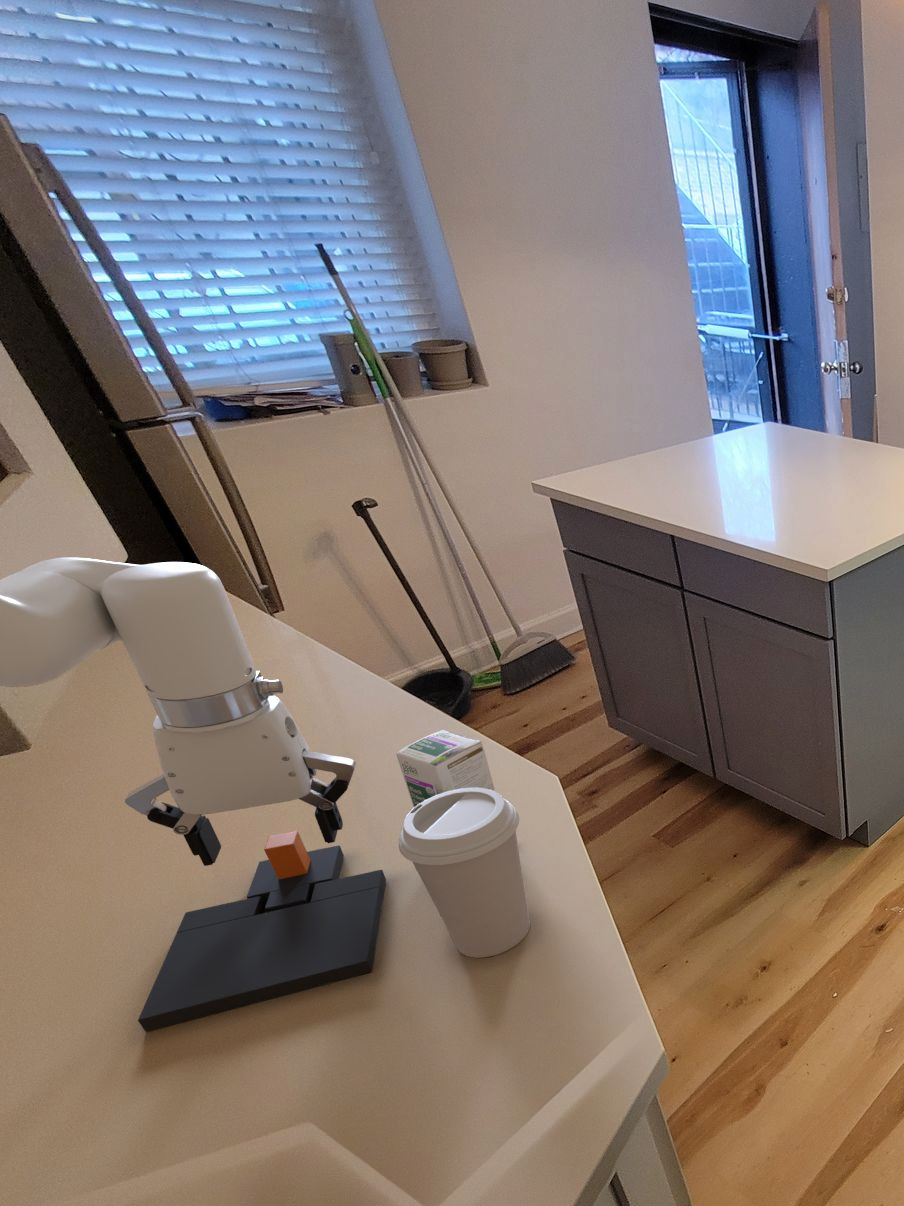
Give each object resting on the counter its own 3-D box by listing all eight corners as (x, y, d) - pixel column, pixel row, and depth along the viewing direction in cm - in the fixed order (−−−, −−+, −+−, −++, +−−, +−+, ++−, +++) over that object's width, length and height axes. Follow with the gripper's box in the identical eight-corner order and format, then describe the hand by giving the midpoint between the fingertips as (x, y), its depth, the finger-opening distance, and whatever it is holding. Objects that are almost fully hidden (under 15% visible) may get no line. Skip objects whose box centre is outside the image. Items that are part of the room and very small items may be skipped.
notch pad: (145, 1032, 66) (137, 1020, 66) (191, 923, 77) (185, 912, 76) (372, 972, 73) (367, 960, 73) (386, 879, 84) (382, 869, 83)
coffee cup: (503, 888, 84) (468, 772, 76) (568, 920, 80) (537, 801, 73) (415, 947, 76) (366, 823, 69) (482, 984, 73) (439, 859, 65)
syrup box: (429, 864, 86) (390, 752, 79) (475, 833, 91) (442, 726, 84) (469, 878, 85) (432, 766, 78) (513, 846, 90) (483, 738, 83)
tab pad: (245, 925, 77) (223, 883, 75) (264, 872, 84) (244, 831, 81) (332, 905, 80) (314, 863, 78) (344, 855, 87) (327, 815, 84)
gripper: (333, 669, 79) (380, 808, 87) (98, 694, 71) (174, 843, 79) (321, 703, 73) (372, 848, 81) (64, 734, 65) (150, 890, 74)
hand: (274, 845), depth 80 cm, fingers open, 9 cm apart
